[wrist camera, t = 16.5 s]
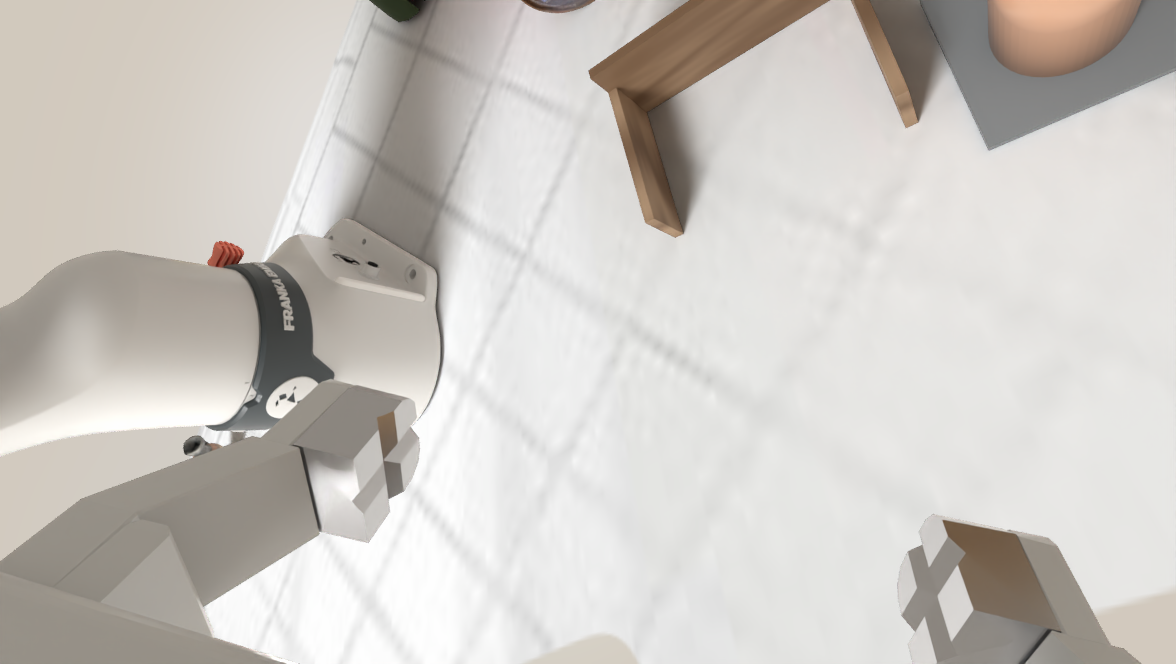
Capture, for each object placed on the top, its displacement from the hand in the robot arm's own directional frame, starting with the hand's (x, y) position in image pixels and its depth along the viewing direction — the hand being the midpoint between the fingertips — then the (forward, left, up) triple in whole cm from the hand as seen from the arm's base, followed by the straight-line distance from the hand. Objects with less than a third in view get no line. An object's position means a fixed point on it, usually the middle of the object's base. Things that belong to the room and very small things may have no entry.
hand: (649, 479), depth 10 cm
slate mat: (-5, +20, -26) cm, 33 cm away
